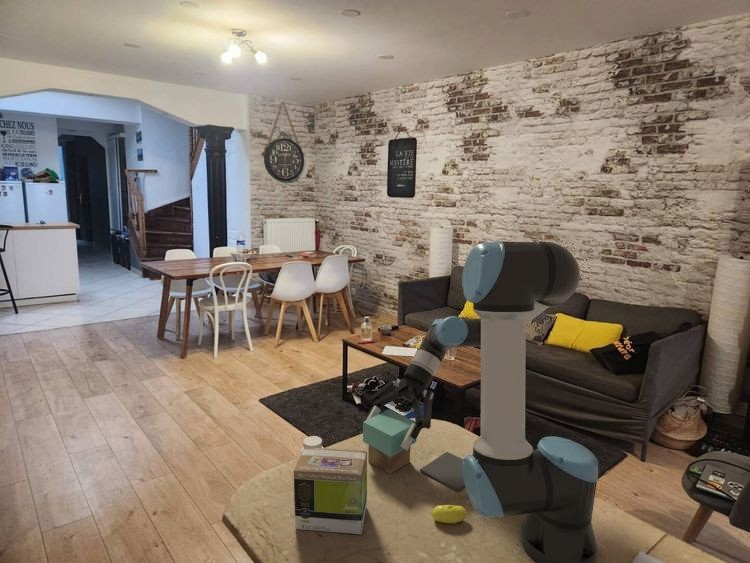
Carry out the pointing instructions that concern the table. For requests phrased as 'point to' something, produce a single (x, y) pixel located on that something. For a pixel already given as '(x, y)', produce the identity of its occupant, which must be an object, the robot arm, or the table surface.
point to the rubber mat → (446, 471)
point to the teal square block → (387, 431)
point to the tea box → (330, 490)
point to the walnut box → (388, 459)
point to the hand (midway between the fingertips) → (384, 438)
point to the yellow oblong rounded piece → (449, 513)
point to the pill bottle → (312, 442)
